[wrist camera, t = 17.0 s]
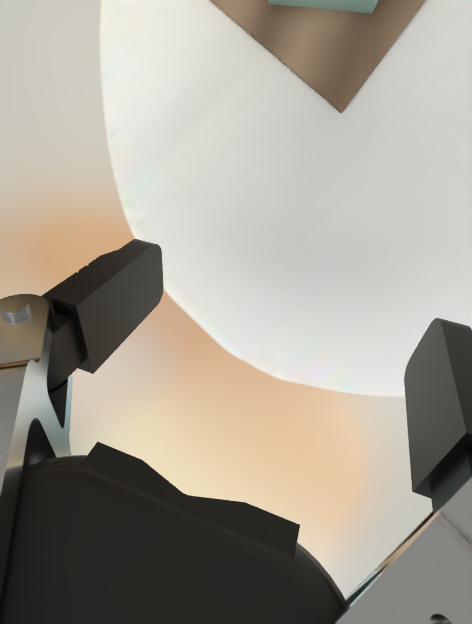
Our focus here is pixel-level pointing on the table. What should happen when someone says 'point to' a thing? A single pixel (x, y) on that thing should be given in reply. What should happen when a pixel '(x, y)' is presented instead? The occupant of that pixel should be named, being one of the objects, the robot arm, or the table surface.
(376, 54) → the base plate
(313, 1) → the teal open box
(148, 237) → the table surface
